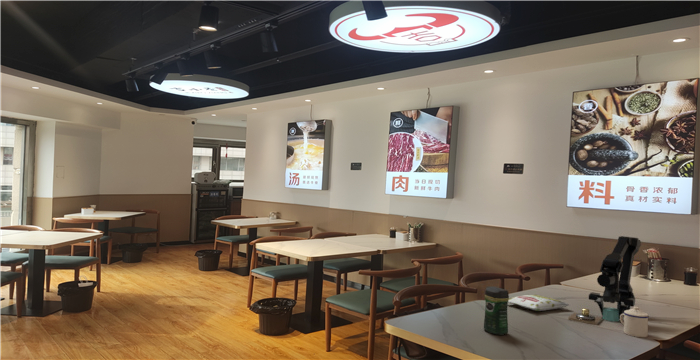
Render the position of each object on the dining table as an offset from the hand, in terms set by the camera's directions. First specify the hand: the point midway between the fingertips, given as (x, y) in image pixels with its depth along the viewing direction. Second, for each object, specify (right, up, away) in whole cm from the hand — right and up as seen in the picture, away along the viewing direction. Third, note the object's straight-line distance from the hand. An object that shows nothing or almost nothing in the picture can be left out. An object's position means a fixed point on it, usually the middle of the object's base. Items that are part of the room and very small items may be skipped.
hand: (611, 317), depth 218 cm
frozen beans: (-28, -1, +18) cm, 33 cm away
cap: (0, -1, 0) cm, 1 cm away
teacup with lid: (-3, -1, -21) cm, 21 cm away
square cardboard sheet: (-13, -1, -2) cm, 13 cm away
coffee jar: (-63, +1, -26) cm, 68 cm away
